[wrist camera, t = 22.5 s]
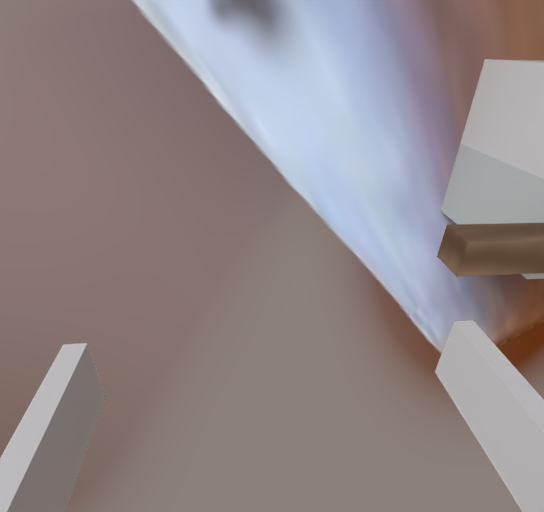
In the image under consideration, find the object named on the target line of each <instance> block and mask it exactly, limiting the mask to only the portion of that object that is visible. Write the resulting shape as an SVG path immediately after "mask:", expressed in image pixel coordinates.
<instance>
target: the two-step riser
mask: <svg viewBox="0 0 544 512" xmlns="http://www.w3.org/2000/svg"><path fill="white" fill-rule="evenodd" d="M441 212H442V213H444V214H445V215H446V216H447V217H449V218H450V219H451V220H453V221H454V222H455V223H456V224H502V223H544V61H538V60H489V59H485V61H484V64H483V68H482V71H481V75H480V78H479V82H478V85H477V88H476V92H475V95H474V99H473V102H472V105H471V109H470V112H469V116H468V119H467V123H466V126H465V129H464V133H463V136H462V140H461V143H460V147H459V150H458V153H457V157H456V160H455V164H454V167H453V171H452V174H451V177H450V181H449V184H448V188H447V191H446V194H445V198H444V201H443V205H442V208H441ZM521 275H522V276H524V277H525V278H526V279H543V278H544V273H535V274H521Z"/></svg>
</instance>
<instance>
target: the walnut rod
mask: <svg viewBox="0 0 544 512" xmlns="http://www.w3.org/2000/svg"><path fill="white" fill-rule="evenodd" d="M437 257H438V258H439V259H440V260H441V261H442V262H443V263H444V264H445V265H446V266H447V267H448V268H449V269H450V270H451V271H452V272H453V273H454V274H455V275H456V276H482V275H508V274H535V273H544V223H502V224H455V225H447V227H446V230H445V233H444V236H443V240H442V243H441V246H440V249H439V252H438V255H437Z"/></svg>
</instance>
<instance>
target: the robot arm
mask: <svg viewBox="0 0 544 512" xmlns="http://www.w3.org/2000/svg"><path fill="white" fill-rule="evenodd" d="M435 373H436V374H437V376H438V378H439V379H440V381H441V382H442V384H443V386H444V387H445V389H446V390H447V392H448V394H449V395H450V397H451V398H452V400H453V402H454V403H455V405H456V406H457V408H458V410H459V411H460V413H461V414H462V416H463V417H464V419H465V421H466V422H467V424H468V425H469V427H470V429H471V430H472V432H473V433H474V435H475V437H476V438H477V440H478V441H479V443H480V444H481V446H482V448H483V449H484V451H485V452H486V454H487V456H488V457H489V459H490V461H491V462H492V464H493V465H494V467H495V468H496V470H497V472H498V473H499V475H500V476H501V478H502V480H503V481H504V483H505V484H506V486H507V488H508V489H509V491H510V492H511V494H512V496H513V497H514V499H515V500H516V502H517V503H518V505H519V507H520V508H521V510H522V512H544V400H543V399H542V398H541V396H540V395H539V394H538V393H537V392H536V391H535V390H534V389H533V387H532V386H531V385H530V384H529V383H528V382H527V381H526V380H525V378H524V377H523V376H522V375H521V374H520V373H519V372H518V370H517V369H516V368H515V367H514V366H513V365H512V364H511V363H510V361H508V359H507V358H506V357H505V356H504V355H503V354H502V352H501V351H500V350H499V349H498V348H497V347H496V346H495V344H494V343H493V342H492V341H491V340H490V339H489V338H488V337H487V335H486V334H485V333H484V332H483V331H482V330H481V329H480V327H479V326H478V325H477V324H476V323H475V322H474V321H456V322H454V323H453V326H452V329H451V331H450V334H449V336H448V339H447V342H446V344H445V347H444V350H443V352H442V355H441V358H440V360H439V363H438V366H437V368H436V371H435ZM105 397H106V396H105V392H104V390H103V387H102V384H101V381H100V378H99V375H98V373H97V370H96V367H95V364H94V361H93V358H92V355H91V353H90V350H89V347H88V344H87V343H83V344H66V345H63V346H62V348H61V350H60V352H59V354H58V355H57V357H56V359H55V361H54V362H53V364H52V366H51V368H50V370H49V371H48V373H47V375H46V377H45V379H44V380H43V382H42V384H41V386H40V388H39V389H38V391H37V393H36V395H35V397H34V399H33V400H32V402H31V404H30V406H29V408H28V409H27V411H26V413H25V415H24V416H23V418H22V420H21V422H20V424H19V426H18V427H17V429H16V431H15V433H14V435H13V436H12V438H11V440H10V442H9V444H8V445H7V447H6V449H5V451H4V453H3V454H2V456H1V458H0V512H65V510H66V508H67V505H68V502H69V499H70V496H71V494H72V491H73V488H74V485H75V482H76V479H77V476H78V474H79V470H80V468H81V465H82V462H83V460H84V457H85V454H86V451H87V448H88V445H89V442H90V439H91V437H92V434H93V431H94V428H95V425H96V423H97V420H98V417H99V414H100V411H101V408H102V405H103V403H104V400H105Z"/></svg>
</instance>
